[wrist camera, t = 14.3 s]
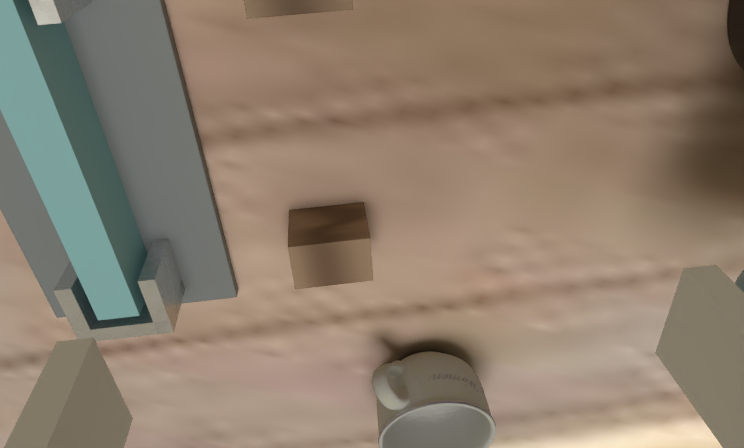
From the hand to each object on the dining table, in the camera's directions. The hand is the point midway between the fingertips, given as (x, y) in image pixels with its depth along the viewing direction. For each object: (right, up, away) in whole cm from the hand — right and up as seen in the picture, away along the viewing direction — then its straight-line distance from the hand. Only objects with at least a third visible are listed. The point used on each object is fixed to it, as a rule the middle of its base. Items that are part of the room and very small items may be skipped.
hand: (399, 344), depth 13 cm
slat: (-20, +8, +25) cm, 34 cm away
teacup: (+4, -11, +43) cm, 45 cm away
